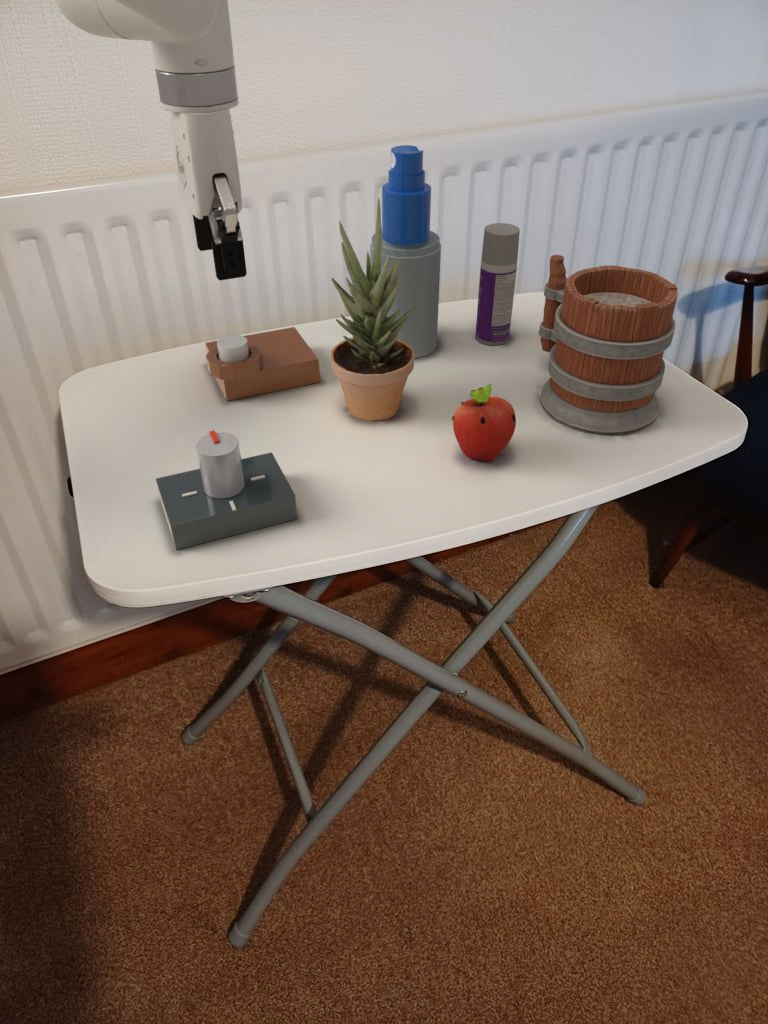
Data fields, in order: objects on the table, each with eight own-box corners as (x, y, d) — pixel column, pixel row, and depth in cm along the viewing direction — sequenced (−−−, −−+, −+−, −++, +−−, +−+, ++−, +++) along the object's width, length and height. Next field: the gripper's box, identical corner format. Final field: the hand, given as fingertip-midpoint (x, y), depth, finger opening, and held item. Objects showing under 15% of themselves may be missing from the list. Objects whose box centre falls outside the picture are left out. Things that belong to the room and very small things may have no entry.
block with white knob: (219, 408, 94) (213, 371, 91) (198, 366, 102) (193, 331, 99) (323, 386, 98) (321, 350, 95) (296, 348, 106) (293, 313, 103)
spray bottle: (382, 363, 103) (381, 161, 87) (363, 334, 109) (359, 141, 94) (446, 354, 105) (456, 154, 89) (423, 326, 111) (429, 136, 96)
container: (469, 333, 110) (477, 225, 100) (499, 328, 111) (509, 220, 101) (484, 348, 106) (494, 237, 97) (515, 342, 107) (527, 232, 98)
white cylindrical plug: (223, 366, 93) (220, 350, 91) (216, 353, 95) (213, 337, 94) (252, 360, 94) (250, 345, 92) (244, 347, 96) (243, 332, 95)
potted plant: (339, 433, 90) (330, 214, 74) (328, 392, 97) (317, 184, 81) (424, 424, 91) (432, 207, 76) (407, 384, 98) (411, 179, 83)
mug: (587, 447, 87) (612, 322, 78) (493, 372, 101) (504, 258, 91) (683, 418, 92) (717, 296, 83) (581, 350, 106) (600, 239, 96)
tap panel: (176, 551, 74) (170, 525, 72) (160, 501, 80) (154, 476, 78) (297, 519, 78) (295, 494, 76) (274, 474, 83) (271, 450, 81)
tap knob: (249, 492, 76) (243, 446, 73) (209, 502, 75) (201, 457, 71) (238, 470, 79) (231, 425, 76) (198, 480, 78) (190, 435, 74)
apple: (443, 441, 88) (447, 361, 82) (501, 434, 89) (509, 355, 83) (461, 480, 83) (467, 398, 76) (523, 473, 84) (534, 391, 77)
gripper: (144, 75, 81) (172, 241, 92) (176, 110, 69) (205, 297, 80) (215, 70, 84) (235, 232, 94) (259, 103, 71) (276, 286, 82)
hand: (221, 262), depth 87 cm, fingers open, 8 cm apart
